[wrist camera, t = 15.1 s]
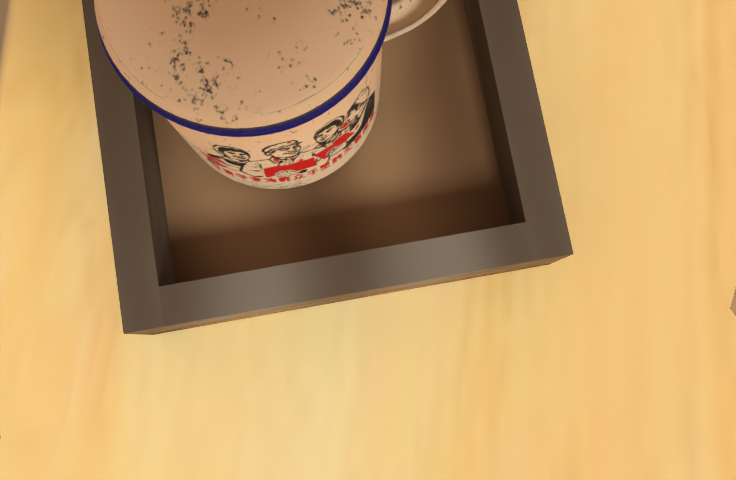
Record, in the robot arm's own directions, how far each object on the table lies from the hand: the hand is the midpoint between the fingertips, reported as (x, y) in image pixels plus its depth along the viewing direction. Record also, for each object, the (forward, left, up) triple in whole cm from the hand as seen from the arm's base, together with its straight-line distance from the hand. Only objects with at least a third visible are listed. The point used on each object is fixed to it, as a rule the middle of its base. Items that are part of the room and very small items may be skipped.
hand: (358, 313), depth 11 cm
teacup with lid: (0, -11, -17) cm, 20 cm away
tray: (0, -11, -18) cm, 21 cm away
